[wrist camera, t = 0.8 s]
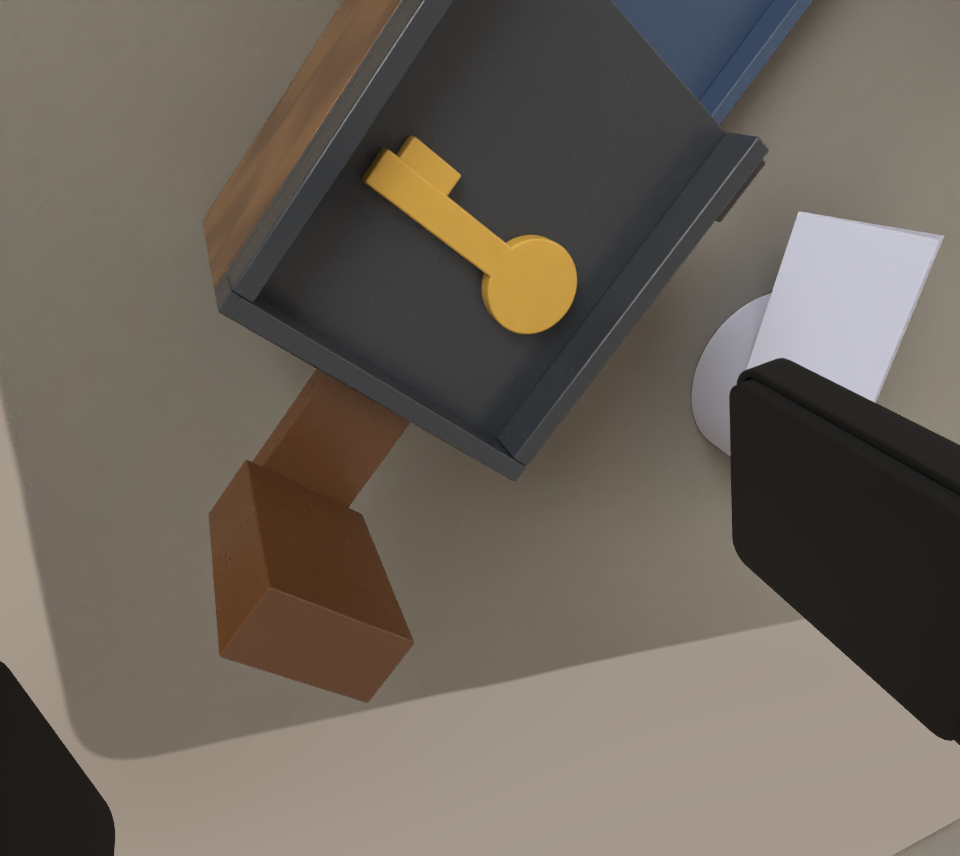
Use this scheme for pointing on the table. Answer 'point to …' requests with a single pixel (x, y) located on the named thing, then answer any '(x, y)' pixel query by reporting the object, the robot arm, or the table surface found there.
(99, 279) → the table surface
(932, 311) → the table surface
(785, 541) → the robot arm
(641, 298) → the dark piece
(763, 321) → the wedge on round base
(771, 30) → the tray
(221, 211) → the stand
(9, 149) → the table surface
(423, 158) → the key
